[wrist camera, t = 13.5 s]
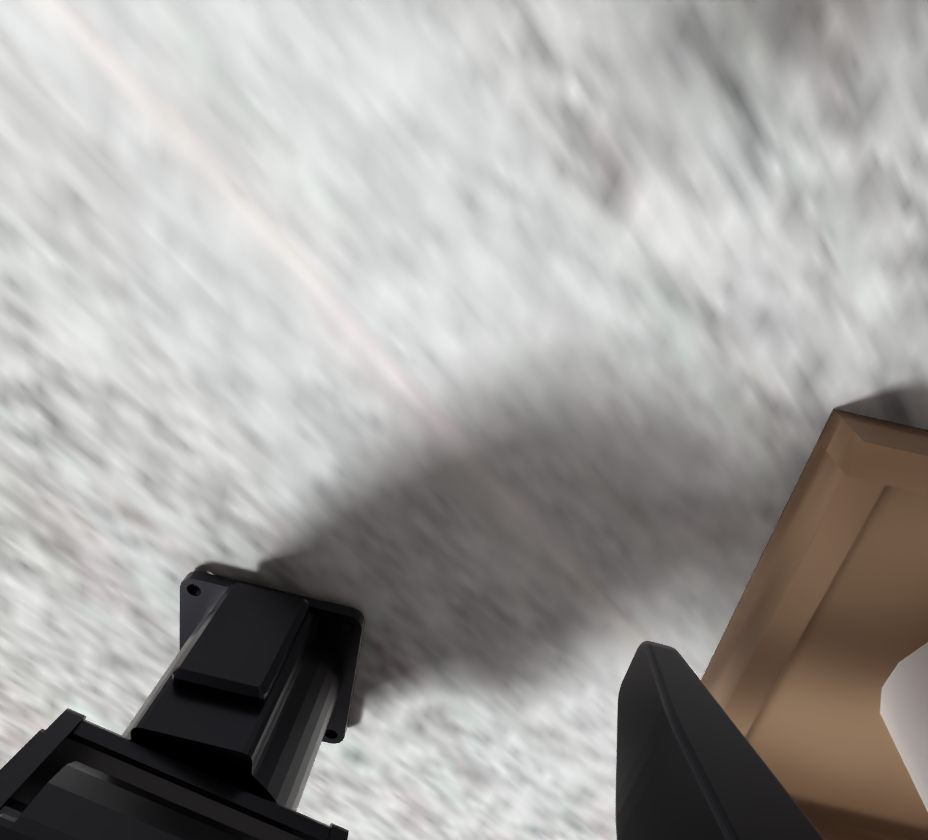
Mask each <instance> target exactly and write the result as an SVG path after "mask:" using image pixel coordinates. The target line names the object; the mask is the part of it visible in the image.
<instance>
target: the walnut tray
mask: <svg viewBox="0 0 928 840" xmlns="http://www.w3.org/2000/svg"><path fill="white" fill-rule="evenodd" d="M927 642H928V430H923V429H919V428H914V427H910V426H906V425H901V424H897V423H892V422H888V421H883V420H879V419H874V418H870V417H866V416H861V415H857V414H852V413H848V412H843V411H839V410H834V409H833V411H832V413H831V415H830V417H829V419H828V421H827V423H826V425H825V427H824V429H823V431H822V433H821V435H820V437H819V440H818V442H817V444H816V446H815V448H814V450H813V452H812V454H811V456H810V458H809V460H808V462H807V464H806V466H805V468H804V470H803V472H802V474H801V476H800V479H799V481H798V483H797V485H796V487H795V489H794V491H793V493H792V495H791V497H790V499H789V501H788V503H787V505H786V507H785V509H784V511H783V513H782V515H781V518H780V520H779V522H778V524H777V526H776V528H775V530H774V532H773V534H772V536H771V538H770V540H769V542H768V544H767V546H766V548H765V550H764V552H763V554H762V557H761V559H760V561H759V563H758V565H757V567H756V569H755V571H754V573H753V575H752V577H751V579H750V581H749V583H748V585H747V587H746V589H745V591H744V593H743V596H742V598H741V600H740V602H739V604H738V606H737V608H736V610H735V612H734V614H733V616H732V618H731V620H730V622H729V624H728V626H727V628H726V630H725V632H724V635H723V637H722V639H721V641H720V643H719V645H718V647H717V649H716V651H715V653H714V655H713V657H712V659H711V661H710V663H709V665H708V667H707V669H706V671H705V674H704V676H703V678H702V680H701V682H702V683H703V684H704V686H705V687H706V688H707V689H708V691H709V692H710V693H711V695H712V696H713V697H714V698H715V700H716V701H717V702H718V704H719V705H720V706H721V707H722V709H723V710H724V711H725V713H726V714H727V715H728V716H729V718H730V719H731V720H732V721H733V723H734V724H735V725H736V727H737V728H738V729H739V730H740V732H741V733H742V734H743V736H744V737H745V738H746V739H747V741H748V742H749V743H750V744H751V746H752V747H753V748H754V750H755V751H756V752H757V753H758V755H759V756H760V757H761V759H762V760H763V761H764V762H765V764H766V765H767V766H768V768H769V769H770V770H771V771H772V773H773V774H774V775H775V776H776V778H777V779H778V780H779V782H780V783H781V784H782V785H783V787H784V788H785V789H786V791H787V792H788V793H789V794H790V796H791V797H792V798H793V800H794V801H795V802H796V803H797V805H798V806H799V807H800V808H801V810H802V811H803V812H804V814H805V815H806V816H807V817H808V819H809V820H810V821H811V823H812V824H813V825H814V826H815V828H816V829H817V830H818V832H819V833H820V834H821V835H822V837H823V838H824V839H825V840H928V812H927V810H926V808H925V805H924V803H923V801H922V799H921V797H920V795H919V793H918V791H917V789H916V787H915V785H914V783H913V781H912V779H911V776H910V774H909V772H908V770H907V768H906V766H905V764H904V762H903V760H902V758H901V756H900V754H899V752H898V749H897V747H896V745H895V743H894V741H893V739H892V737H891V735H890V733H889V731H888V729H887V727H886V725H885V723H884V720H883V718H882V716H881V715H880V704H881V691H882V687H883V685H884V684H885V682H886V681H887V679H888V678H889V676H890V675H891V673H892V672H893V670H894V669H895V667H896V666H897V664H898V663H899V662H900V661H902V660H903V659H904V658H906V657H907V656H909V655H910V654H912V653H913V652H914V651H916V650H917V649H919V648H920V647H922V646H923V645H924V644H926V643H927Z"/></svg>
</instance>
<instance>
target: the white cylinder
mask: <svg viewBox="0 0 928 840" xmlns="http://www.w3.org/2000/svg"><path fill="white" fill-rule="evenodd" d="M880 715H881V716H882V718H883V720H884V723H885V725H886V727H887V729H888V731H889V733H890V735H891V737H892V739H893V741H894V743H895V745H896V747H897V749H898V752H899V754H900V756H901V758H902V760H903V762H904V764H905V766H906V768H907V770H908V772H909V774H910V776H911V779H912V781H913V783H914V785H915V787H916V789H917V791H918V793H919V795H920V797H921V799H922V801H923V803H924V805H925V808H926V810H927V812H928V642H927V643H926V644H924V645H923V646H922V647H920V648H919V649H917V650H916V651H914V652H913V653H912V654H910V655H909V656H907V657H906V658H904V659H903V660H902V661H900V662H899V663H898V664H897V666H896V667H895V669H894V670H893V672H892V673H891V675H890V676H889V678H888V679H887V681H886V682H885V684H884V685H883V687H882V691H881V704H880Z"/></svg>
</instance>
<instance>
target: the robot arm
mask: <svg viewBox="0 0 928 840" xmlns="http://www.w3.org/2000/svg"><path fill="white" fill-rule="evenodd" d="M194 585H196V586H198V587H199V588H197V587H195V586H194ZM346 621H350V622H352V623H353V624H348V623H346ZM364 624H365V618H364V616H363V614H362V613H361V612H360V611H358V610H357V609H354V608H351V607H347V606H342V605H338V604H334V603H330V602H325V601H321V600H317V599H313V598H309V597H304V596H300V595H296V594H292V593H287V592H283V591H279V590H275V589H271V588H266V587H262V586H258V585H254V584H249V583H245V582H241V581H237V580H233V579H228V578H224V577H220V576H216V575H211V574H207V573H203V572H197V571H194V572H190V573H189V574H188V575H187V576H186V577H185V579H184V580H183V581H182V582H181V585H180V652H179V653H178V654H177V656H176V657H175V659H174V660H173V662H172V663H171V665H170V666H169V668H168V669H167V670H166V672H165V673H164V675H163V676H162V678H161V679H160V681H159V682H158V683H157V685H156V686H155V688H154V689H153V691H152V692H151V694H150V695H149V697H148V698H147V699H146V701H145V702H144V704H143V705H142V707H141V708H140V710H139V711H138V713H137V714H136V715H135V717H134V718H133V720H132V721H131V723H130V724H129V726H128V727H127V729H126V730H125V731H124V733H123V734H122V736H121V735H119V734H117V733H114V732H112V731H110V730H107V729H105V728H103V727H100V726H98V725H96V724H94V723H91V722H89V721H87V720H85V719H86V716H84V715H82V714H80V713H78V712H75V711H73V710H71V709H66V710H65V711H64V712H63V713H62V714H61V715H60V716H59V717H58V718H57V719H56V720H55V721H54V722H53V723H52V724H51V725H50V726H49V727H48V728H47V729H46V730H44V729H41V730H40V731H39V732H38V733H37V734H36V735H35V736H34V737H33V738H32V739H31V740H30V741H29V742H28V743H27V744H26V745H25V746H24V747H23V748H22V749H21V750H20V751H19V752H18V753H17V754H16V755H15V756H14V757H13V758H12V759H11V760H10V761H9V762H8V763H7V764H6V765H5V766H4V767H3V768H2V769H1V770H0V840H347V838H348V830H346V829H344V828H342V827H340V826H337V825H335V824H333V823H331V824H330V826H328V825H326V824H324V823H321V822H319V821H317V820H314V819H312V818H310V817H308V816H305V815H303V814H301V813H298V812H296V810H297V808H298V805H299V802H300V799H301V797H302V794H303V791H304V788H305V786H306V783H307V780H308V777H309V775H310V772H311V769H312V766H313V764H314V761H315V758H316V755H317V753H318V750H319V747H320V744H321V742H322V741H323V742H328V743H334V744H335V743H340V742H341V741H343V739H344V736H345V733H346V730H347V725H348V719H349V713H350V707H351V702H352V696H353V690H354V684H355V678H356V672H357V666H358V660H359V654H360V648H361V642H362V636H363V630H364ZM616 833H617V840H825V839H824V838H823V837H822V835H821V834H820V833H819V832H818V830H817V829H816V828H815V826H814V825H813V824H812V823H811V821H810V820H809V819H808V817H807V816H806V815H805V814H804V812H803V811H802V810H801V808H800V807H799V806H798V805H797V803H796V802H795V801H794V800H793V798H792V797H791V796H790V794H789V793H788V792H787V791H786V789H785V788H784V787H783V785H782V784H781V783H780V782H779V780H778V779H777V778H776V776H775V775H774V774H773V773H772V771H771V770H770V769H769V768H768V766H767V765H766V764H765V762H764V761H763V760H762V759H761V757H760V756H759V755H758V753H757V752H756V751H755V750H754V748H753V747H752V746H751V744H750V743H749V742H748V741H747V739H746V738H745V737H744V736H743V734H742V733H741V732H740V730H739V729H738V728H737V727H736V725H735V724H734V723H733V721H732V720H731V719H730V718H729V716H728V715H727V714H726V713H725V711H724V710H723V709H722V707H721V706H720V705H719V704H718V702H717V701H716V700H715V698H714V697H713V696H712V695H711V693H710V692H709V691H708V689H707V688H706V687H705V686H704V684H703V683H702V682H701V681H700V679H699V678H698V677H697V675H696V674H695V673H694V672H693V670H692V669H691V668H690V666H689V665H688V664H687V663H686V661H685V660H684V659H683V657H682V656H681V655H680V654H679V652H678V651H677V650H676V649H674V648H672V647H670V646H666V645H663V644H659V643H655V642H651V641H645V642H642V643H641V644H640V646H639V647H638V649H637V651H636V653H635V655H634V657H633V660H632V662H631V664H630V666H629V668H628V671H627V673H626V675H625V677H624V679H623V681H622V684H621V687H620V691H619V696H618V718H617V763H616Z"/></svg>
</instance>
